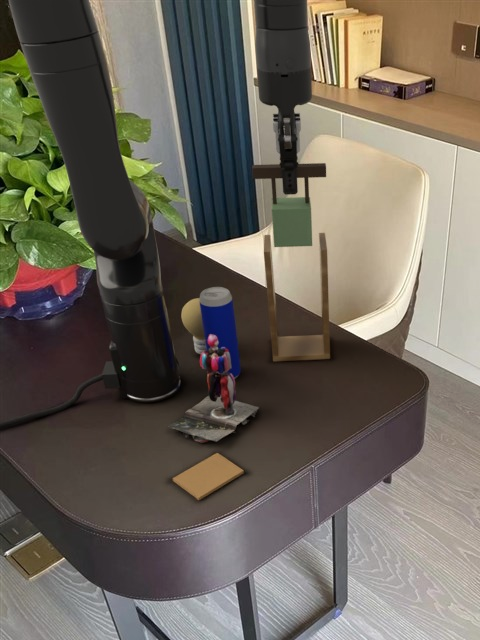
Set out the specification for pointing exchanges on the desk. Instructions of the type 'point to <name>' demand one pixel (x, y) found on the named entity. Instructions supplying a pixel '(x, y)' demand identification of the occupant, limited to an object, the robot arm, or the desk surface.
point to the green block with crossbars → (291, 205)
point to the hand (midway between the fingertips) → (290, 190)
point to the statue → (215, 400)
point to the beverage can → (220, 322)
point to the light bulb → (194, 324)
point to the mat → (208, 476)
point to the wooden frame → (298, 345)
